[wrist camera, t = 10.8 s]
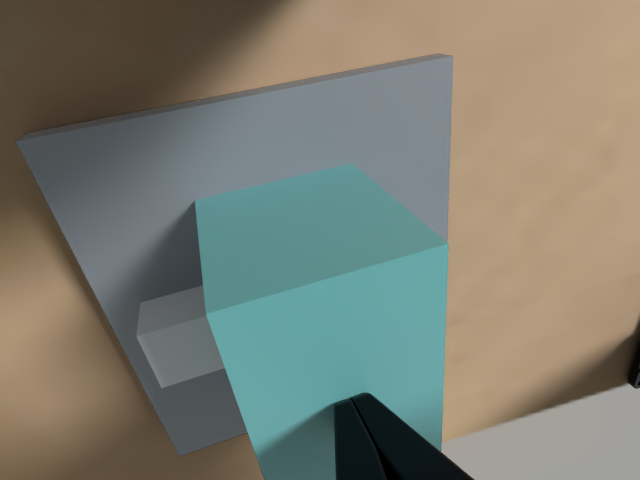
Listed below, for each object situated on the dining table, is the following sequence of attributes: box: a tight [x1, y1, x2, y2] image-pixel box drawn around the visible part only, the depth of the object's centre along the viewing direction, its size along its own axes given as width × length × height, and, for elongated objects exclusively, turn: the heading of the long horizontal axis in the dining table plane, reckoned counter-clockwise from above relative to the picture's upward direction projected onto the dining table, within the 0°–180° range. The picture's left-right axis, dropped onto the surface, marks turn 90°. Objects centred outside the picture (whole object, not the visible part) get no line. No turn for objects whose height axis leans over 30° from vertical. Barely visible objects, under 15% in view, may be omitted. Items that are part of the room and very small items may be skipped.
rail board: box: [15, 54, 453, 457], centre depth 13 cm, size 11×12×2 cm
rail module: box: [195, 163, 448, 480], centre depth 11 cm, size 4×7×5 cm, turn 8°
